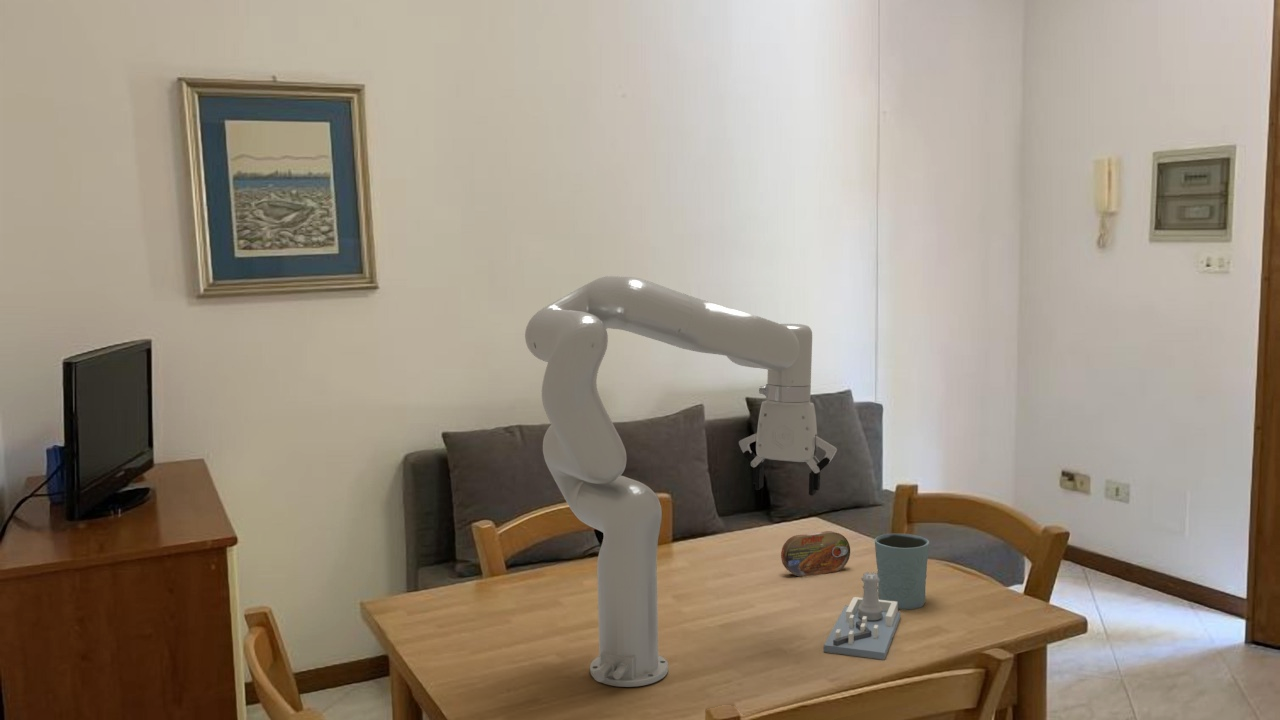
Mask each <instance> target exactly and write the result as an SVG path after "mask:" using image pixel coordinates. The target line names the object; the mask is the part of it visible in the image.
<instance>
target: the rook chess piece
mask: <svg viewBox="0 0 1280 720" xmlns="http://www.w3.org/2000/svg"><path fill="white" fill-rule="evenodd" d="M861 581H862V582H863V585H862V589H863V593H862V598H863V599H862V602H861V605H860V606H859V607H858V610H859V612H858V616H859V617H860V618H861V619H862V618H863V616H867V621H878V620H880V619H881V618H882V616H883V615H882V611H883V610H882V607H881V606H880V603H879V601H878V600H879V596H878V582H879V581H880V579H879V577H878V574H877V572H875V573H874V571H870V572H869V571H866V572H863V575H862V577H861Z"/></svg>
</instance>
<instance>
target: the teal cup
mask: <svg viewBox="0 0 1280 720" xmlns="http://www.w3.org/2000/svg"><path fill="white" fill-rule="evenodd" d="M874 549H875V559H876V569H877V572H876V573H877V574H878V577H879V579H880V581H879V582H878V584H877V586H878V590H877V594H878V600H887V601H896V602H898V610H916V609H920V608H922V607H924V605H925V603H926V585H927V584H926V583H927V581H926V579H927V570H928V559H929V553H930V540H928V539H927V538H925V537H923V536H920V535H916V534H911V533H909V534H908V533H885V534H881V535H878V536H876V537H875V538H874Z"/></svg>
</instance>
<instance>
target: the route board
mask: <svg viewBox="0 0 1280 720" xmlns="http://www.w3.org/2000/svg"><path fill="white" fill-rule="evenodd" d="M862 599H863V597H858V596H853V597H852V599H851V601H850V602H849V605H844V607H843V609H842V611H841V612H840V614H839V616H838V618H837V620H836V621H835V624H834V626H833V627H832V630H831V631H830V633H829V635H828V637H827V638H826V641H825V643H824V645H823V653H830V654H836V655H845V656H850V657H851V656H852V657H861V658H869V659H874V660H875V659H877V660H882V661H883V660H884V661H885V659H886V657H887V654H888V652H889V649H890V646H891V644H892V642H893V639H894V636H895V633H896V631H897V628H898V625H899V622H900V619H901V611H900V610H899V609H898V602H896V601H887V600H879V599H878V601H879V603H880V606H881V607H882V610H883V611H882V615H883V616H882V618H881V619H880V620H878V621H867V616H863V618H862V619H861V618H860V617H859V616H858V612H859V610H858V607H859V606H860V605H861V602H862ZM898 610H899V611H898Z"/></svg>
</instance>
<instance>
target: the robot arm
mask: <svg viewBox="0 0 1280 720" xmlns="http://www.w3.org/2000/svg"><path fill="white" fill-rule="evenodd" d="M608 329H611V330H612V329H613V330H620V331H625V332H629V333H631V334H636V335H638V336H642V337H646V338H649V339H652V340H654V341H658V342H661V343H664V344H668V345H671V346H674V347H677V348H679V349H683V350H688V351H692V352H697V353H702V354H712V355H719V356H726V358H727V359H728V360H730V361H731V362H732V363H734V364H736V365H738V366H741V367H747V368H754V369H763V370H767V379H766V381H767V383H766V385H763V386H759V389H758V394H760V395H764V396H765V399H766V400H763V401H762V402H761V405H760V409H759V414H758V420H757V421H758V422H757V431H756V432H755V433H754V434H751V435H750V436H747V437H744V438H742V439H740V440H739V441H738V445H739V447H740V450H741V451H742V453H743V457H744V458H745V459H746V460H747V461H748V462H749V464H750V466H751V467H752V484H753V485H754V490H756V491H759V490H761V489H763V488H764V484H765V483H764V481H765V478H764V477H765V466H764V465H763V462H764V461H765V460H772V461H784V462H794V463H795V462H797V463H804V462H805V463H806V464H807V465H808V466H809V468H810V470H811V472H809V475H808V476H809V479H808V495H809V496H814V495H816V494H817V492H818V491H820V489H821V488H820V487H821V471H822V470H823V469H824V468H826V467H827V466H828V464H830V463H831V461H832V460H833V458H834V457H835V455H836V453H837V451H838V449H837V446H834V445H833V444H830V442H828V441H826V440H824V439H822V438H821V437H819V436H818V427H817V416H816V415H817V414H816V408H815V404H814V403H813V402H811V394H812V393H811V386H812V363H813V362H812V361H813V360H812V359H813V358H812V357H813V331H812V328H811V327H810V326H808V325H805V324H801V323H778V322H775V321H773V320H770V319H767V318H764V317H761V316H758V315H754V314H752V313H748V312H744V311H740V310H737V309H734V308H730V307H728V306H724V305H721V304H718V303H715V302H711V301H709V300H704V299H701V298H698V297H695V296H692V295H689V294H687V293H683V292H680V291H677V290H676V289H675V290H674V289H671V288H669V287H666V286H664V285H660V284H657V283H655V282H651V281H649V280H646V279H642V278H639V277H633V276H614V275H613V276H612V275H610V276H608V275H606V276H602V277H599V278H595V279H594V280H592V281H590V282H588V283H587V284H586V283H585V284H584V285H582V286H580V287H579V288H577V289H575V290H574V291H572V292H570V293H568V294H567V295H565V296H563V297H560V298H559V299H557V300H556V301H553V302H551V303H550V304H547V306H545V307H543V308H542V309H540V310H538V311H537V312H536V313H534V315H532V317H530V319H529V321H528V323H527V325H526V328H525V333H524V338H525V344H526V346H527V349H528V350H529V352H530V353H531V355H533V356H534V357H536V358H537V359H539V360H540V361H542V362H545V363H547V364H546V368H545V370H544V371H545V372H544V375H543V381H542V384H541V385H542V386H541V402H542V405H543V409H544V412H545V414H546V416H547V419H548V420H549V423H550V425H549V427H548V428H547V429H546V432H545V434H544V436H543V439H542V440H543V441H542V453H543V458H544V461H545V464H546V466H547V469H548V470H549V472H550V474H551V476H552V478H553V480H554V481H555V483H556V485H557V487H558V489H559V491H560V493H561V494H562V497H563V498H564V500H565V501H566V503H567V505H568V507H569V509H570V510H571V511H572V513H573V514H574V515H575V517H576V518H577V519H578V520H579V521H580V522H582V523H583V524H585V525H586V526H589V527H591V528H594V529H595V530H597V531H599V532H601V533H603V535H602V536H603V537H602V538H603V539H602V542H601V545H600V548H599V551H598V556H597V565H596V566H597V567H596V568H597V569H596V570H597V571H596V572H597V573H596V577H597V578H596V579H597V602H598V603H597V607H598V608H597V609H598V613H597V614H598V649H599V654H598V656H597V657H595V658H594V659H593V660H592V661H591V663H590V664H589V665H590V666H589V672H590V676H592V678H593V679H594V680H595V681H596V682H598V683H601V684H604V685H607V686H612V687H619V688H633V687H634V688H636V687H643V686H649V685H651V684H655V683H656V682H658V681H661V680H662V679H664V677H666V675H667V674H668V672H669V664H668V661H667V659H666V658H665V657H663V656H662V655H660V654H659V633H658V632H659V631H658V630H659V629H658V628H659V626H658V625H659V623H658V572H657V570H658V567H657V566H658V565H657V564H658V563H657V562H658V561H657V560H658V559H657V557H658V542H659V535H660V530H661V529H660V528H661V525H662V516H663V514H662V505H661V502H660V499H659V497H658V496H657V494H656V492H654V490H652V488H650V486H648V485H647V484H645V483H643V482H640V481H639V480H635V479H633V478H629V477H627V476H624V475H622V474H623V473H624V471H625V469H626V465H627V452H626V448H625V445H624V443H623V441H622V438H621V436H620V435H619V432H618V431H617V429H616V427H615V425H614V423H613V422H612V420H611V419H612V418H610V416H609V413H608V411H607V409H606V408H605V406H604V404H603V402H602V399H601V396H600V394H599V391H598V386H597V385H598V384H597V380H598V379H597V378H598V373H599V369H600V367H601V364H602V361H603V359H604V358H605V356H606V352H607V349H608V344H609V338H608V337H609V335H608ZM754 442H755V453H756V454H755V453H754V452H753V451H752V450H751V446H750V445H751V444H752V443H754ZM818 448H820V449H821V450H823V451H825V455H824V457H823V458H822V460H820V461H819V459H818V458H817V454H818V453H817V452H818Z"/></svg>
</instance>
